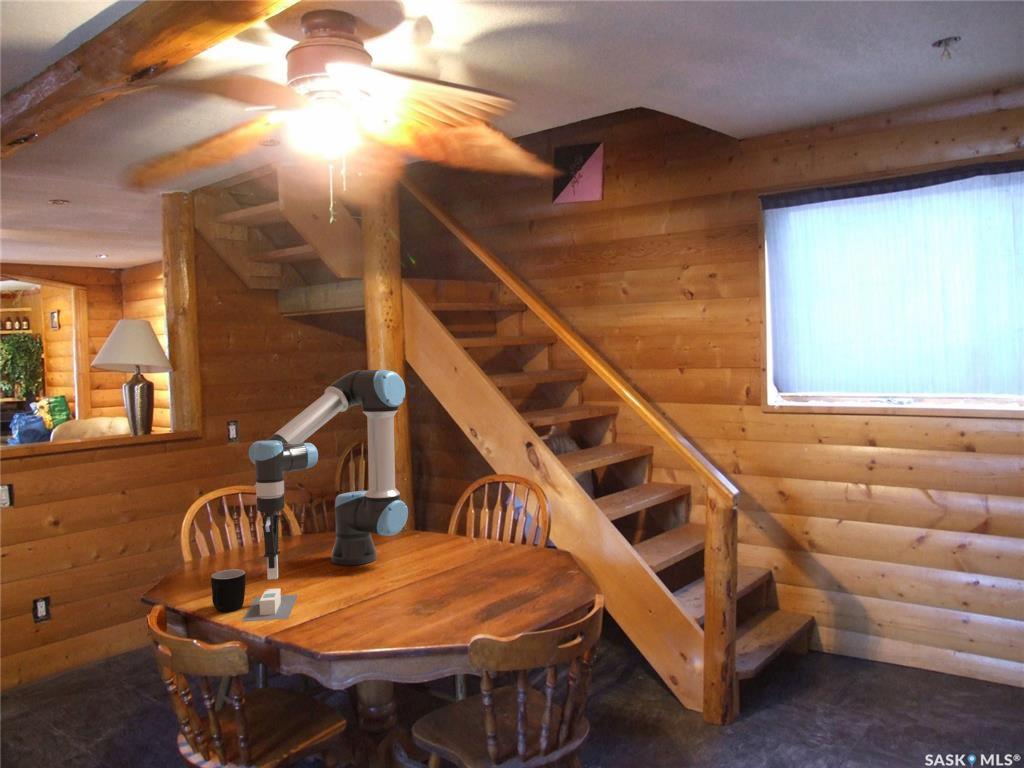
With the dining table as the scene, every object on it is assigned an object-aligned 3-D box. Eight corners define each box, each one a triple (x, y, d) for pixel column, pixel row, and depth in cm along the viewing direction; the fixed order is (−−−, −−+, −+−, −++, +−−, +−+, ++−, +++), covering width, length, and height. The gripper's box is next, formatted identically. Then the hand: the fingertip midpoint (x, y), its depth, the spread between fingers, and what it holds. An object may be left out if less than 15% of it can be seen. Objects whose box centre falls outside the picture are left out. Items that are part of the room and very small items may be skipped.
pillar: (280, 588, 220) (274, 599, 210) (280, 602, 221) (275, 614, 211) (265, 588, 220) (259, 600, 210) (266, 603, 220) (260, 615, 210)
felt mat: (298, 595, 227) (298, 594, 227) (288, 620, 207) (288, 618, 207) (255, 598, 225) (255, 597, 225) (241, 622, 206) (241, 621, 206)
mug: (223, 603, 221) (222, 568, 221) (252, 605, 220) (251, 569, 219) (199, 618, 210) (197, 581, 209) (229, 620, 208) (228, 582, 207)
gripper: (260, 492, 225) (263, 572, 226) (252, 501, 212) (254, 586, 213) (287, 491, 226) (289, 571, 227) (280, 499, 213) (283, 584, 214)
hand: (272, 578), depth 220 cm, fingers closed
